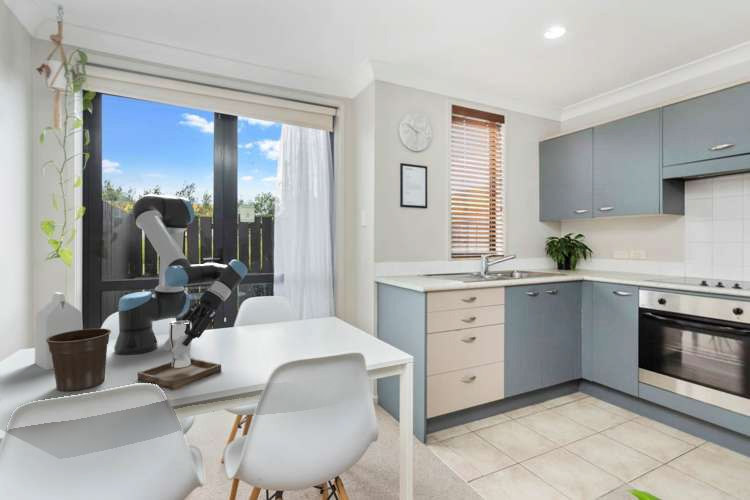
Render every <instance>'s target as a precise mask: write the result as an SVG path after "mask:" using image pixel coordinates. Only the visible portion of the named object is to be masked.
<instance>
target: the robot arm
mask: <svg viewBox="0 0 750 500" xmlns="http://www.w3.org/2000/svg"><path fill="white" fill-rule="evenodd" d="M131 213H132V214H131V215H132V219H133V222H134V223H135V225H136V227H137V228H139V229H140V230H142V231H143V233H144V234H145V236H146V238H147V239H148V240H149V242H150V243H151V245H152V247H153V249H154V250H155V252H156V254H157V255H158V257H159V274H158V275H159V277H158V285H157V286H155V288H154V293H152V292H151V291H140V292H139V291H138V292H137V291H136V292H132V293H128V294H125V295H123V296H122V297H120V299H119V300H118V307H117V309H118V335H117V338H116V341H115V344H114V347H113V348H114V349H113V350H114V351H113V352H114V354H116V355H121V356H131V355H137V354H138V355H139V354H143V353H149V352H151V351H155V350H156V349H157V348H158V340H157V337H156V335H155V332H154V330H153V329H154V328H153V322H157V321H158V322H159V321H162V320H163V321H164V320H168V319H176V318H178V317H181V316H182V317H181V318H180V319H179V320H178V321H181V320H189V321H191V325H192V328H191V330H190V332H187V334H188V335H187V334H186V335H185V336H184V337H183V338H182V340H181V341H180V342H179V343H178V345H177V346H176V347H175V348H174V350H173V352H174V353H176V354H177V355H178V356H180V354H181V353H182V352H183V351H184V349H185V348H186V347H187V346H188V345H189V343H190V342H191V341H193V340H195V339H200V337H201V336H202V335H203V333H204V332H205V331H206V329H207V327H209V325H210V323H211V322H212V321H213V320H214V319H215V317H216V316H217V315H218V314H217V313H216V312H215V311H218V310H219V309H220V308H221V306H222V305H223V304H224V302H225V301H226V300H227V299H228V298H229V296H230V295H231V294H232V293H233V291H234V290H235V289H236V288H237V286H238V285H239V284H240V283H241V282H242V280H244V278H245V276H246V275H247V273H248V268H247V266H246V265H245V264H244V263H243V262H241V261H240V260H238V259H231V261H230V262H228V263H227V264H223V263H217V262H205V263H199V264H191V263H190V261H189V260H188V258H187V257H186V256H185V253H184V252H183V250H184V234H185V231H187V230H188V226H189V225H190V224H192V223H193V222H194V219H195V208H194V206H193V203H192V202H191V201H190V200H189V199H188V198H185V197H181V196H175V195H173V196H171V195H159V194H152V193H151V194H146V195H143V196H141V197H140V198H139V199H138V200H136V202H135V203H134V204H133V207H132V212H131ZM204 284H205V285H206V284H210V285H209V286H208V287H207V290H205V291H204V292H203V294H202V295H201V296H200V298H199V300H200V303H198V304H197V306H195V305H191V306H190V303H191V301H190V297H189V293H188V292H187V291H186V290H185V287H188V286H194V285H204ZM166 339H167V340H166V341H164V343H163V344H162V345H161V348H162V349H164V351H166V352H169V351H171V347H170V341H169V337H168V338H166ZM191 343H192V342H191Z"/></svg>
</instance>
